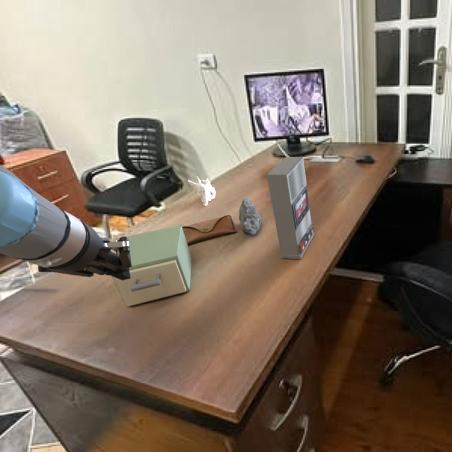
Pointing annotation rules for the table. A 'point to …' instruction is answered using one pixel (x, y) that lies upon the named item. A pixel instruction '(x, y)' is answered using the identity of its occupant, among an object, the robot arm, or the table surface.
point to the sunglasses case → (209, 229)
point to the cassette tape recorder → (291, 207)
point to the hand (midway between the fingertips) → (125, 272)
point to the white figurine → (204, 191)
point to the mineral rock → (249, 217)
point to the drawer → (151, 283)
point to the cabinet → (161, 251)
